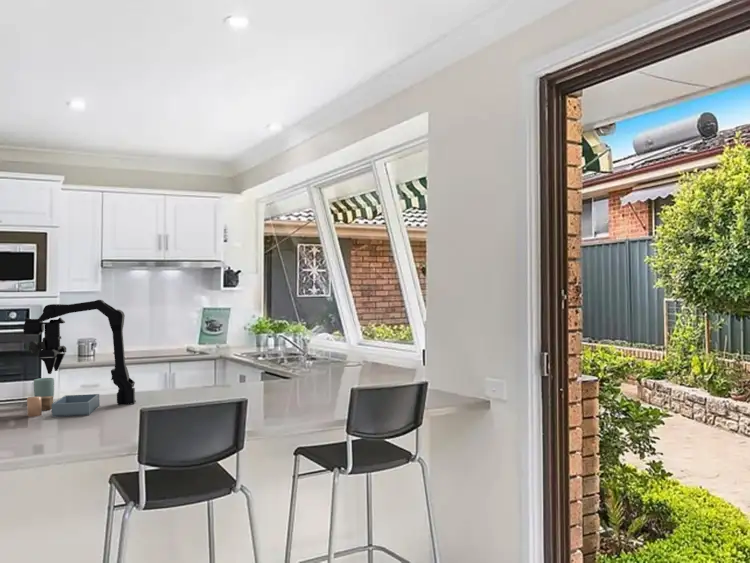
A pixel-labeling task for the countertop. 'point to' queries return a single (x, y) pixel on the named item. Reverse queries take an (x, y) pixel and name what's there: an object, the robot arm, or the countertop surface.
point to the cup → (44, 387)
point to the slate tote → (75, 405)
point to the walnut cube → (47, 402)
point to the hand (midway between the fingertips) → (52, 372)
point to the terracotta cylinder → (34, 406)
